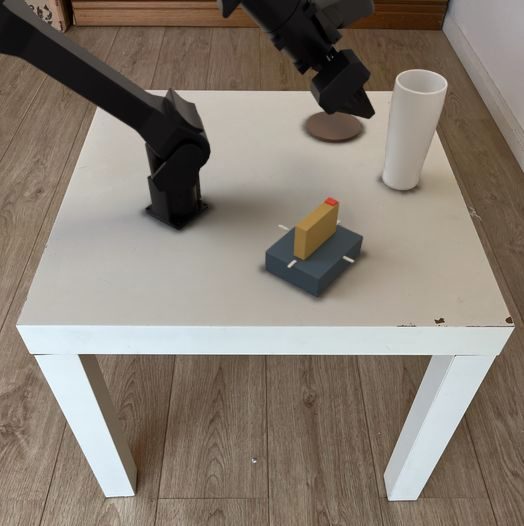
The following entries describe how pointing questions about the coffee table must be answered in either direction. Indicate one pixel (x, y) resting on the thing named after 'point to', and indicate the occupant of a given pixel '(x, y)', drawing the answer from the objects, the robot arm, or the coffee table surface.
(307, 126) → the coaster
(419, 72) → the drinking glass
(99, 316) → the coffee table surface
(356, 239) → the base
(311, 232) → the tap handle
